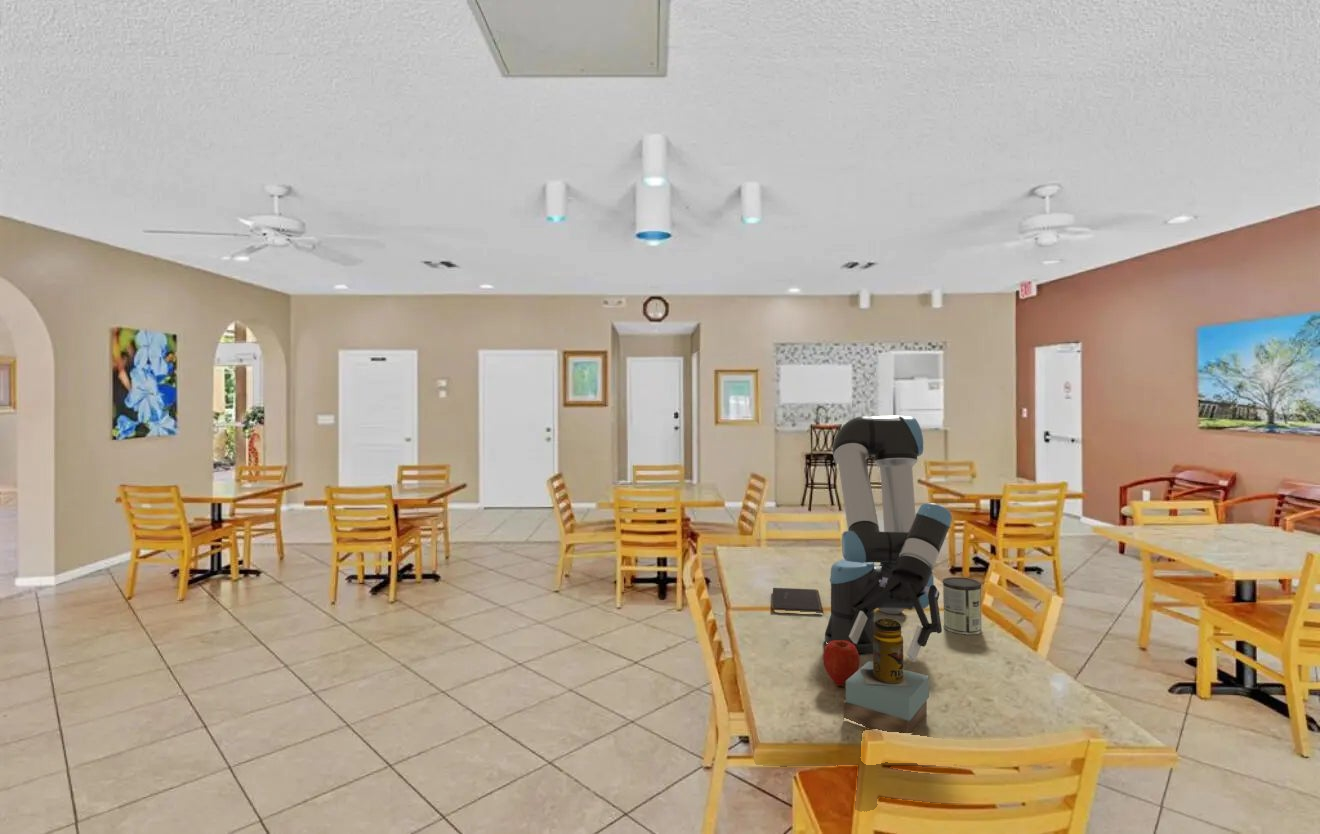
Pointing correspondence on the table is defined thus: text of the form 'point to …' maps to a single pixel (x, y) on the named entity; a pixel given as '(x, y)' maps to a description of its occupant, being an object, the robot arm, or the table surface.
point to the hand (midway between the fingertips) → (880, 649)
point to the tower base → (883, 718)
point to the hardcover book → (797, 600)
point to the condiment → (886, 655)
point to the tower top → (889, 694)
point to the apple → (841, 661)
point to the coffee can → (962, 605)
